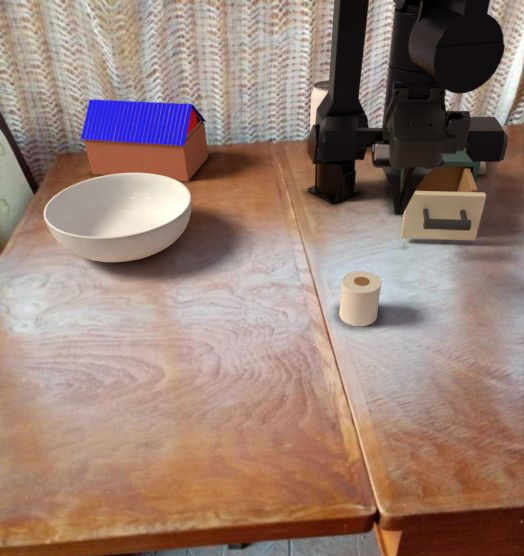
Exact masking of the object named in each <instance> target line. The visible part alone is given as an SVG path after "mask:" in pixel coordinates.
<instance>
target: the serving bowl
mask: <svg viewBox="0 0 524 556" xmlns="http://www.w3.org/2000/svg"><path fill="white" fill-rule="evenodd" d="M192 203H193V198H192V194H191V191H190V190H189V188H188V187H187V186H186V185H185V184H183V182H181V181H178V180H175V179H172V178H169V177H166V176H162V175H157V174H150V173H119V174H111V175H100V176H97V177H93V178H89V179H86V180H85V179H84V180H82V181H80V182H77V183H73V184H71V185H70V186H68V187H66V188H64V189H62V190H61V191H60V192H58V193H57V194H55V195H54V196H53V197H51V198H50V200H49V201H48V202H47V203H46V205H45V206H44V210H43V219H44V223H45V224H46V226H47V228H48V230H49V231H50V233H51V235H52V236H53V237H54V239H55V240H56V241H57V242H58V243H59V244H60V245H61V246H62V247H63V248H65V249H66V250H67V251H69V252H71V253H72V254H74V255H76V256H79V257H81V258H84V259H87V260H90V261H94V262H103V263H122V262H124V263H125V262H131V261H136V260H141V259H145V258H148V257H151V256H153V255H156V254H158V253H159V252H161V251H163V250H165V249H167V248H168V247H170V246H171V245H173V244H174V243H175V242H176V241H177V240H179V238H180V237H181V236H182V234H183V233H184V232H185V230H186V228H187V226H188V225H189V221H190V219H191V213H192V205H193V204H192Z"/></svg>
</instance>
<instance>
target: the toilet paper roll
mask: <svg viewBox="0 0 524 556" xmlns="http://www.w3.org/2000/svg"><path fill="white" fill-rule="evenodd" d="M381 288H382V280H381V278H380V277H379V276H378V275H377V274H375V273H373V272H370V271H365V270H356V271H355V270H354V271H351V272H348V273H346V274H345V275H344V276H343V277H342V279H341V285H340V299H339V300H340V301H339V313H338V315H339V318H340V319H341V321H342V322H343V323H345V324H347V325H349V326H353V327H367V326H370V325H372V324H374V323H375V322H376V320H377V318H378V313H379V312H378V311H379V303H380V295H381Z"/></svg>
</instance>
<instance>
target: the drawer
mask: <svg viewBox="0 0 524 556" xmlns="http://www.w3.org/2000/svg"><path fill="white" fill-rule="evenodd" d="M486 199H487V194H486V192H482V191H481V192H478V187H477V183H476V184H475V181H474V178H473V176H472V173H471V170H470V168H469V167H453V166H443V167H442V168H435V169H433V170H432V171H430V172H429V173H428V174H427V175H426V176H425V177H424V178H423V180H422V181H421V183H420V184H419V186H418V187H417V189H416V191H415V193H414V195H413V196H412V198H411V200H410V202H409V204H408V206H407V208H406V209H405V211H404V213H403V215H402V216H403V217H402V223H401V230H400V238H401V239H422V240H450V241H476V239H477V236H478V231H479V227H480V223H481V220H482V215H483V211H484V208H485V204H486Z"/></svg>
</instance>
